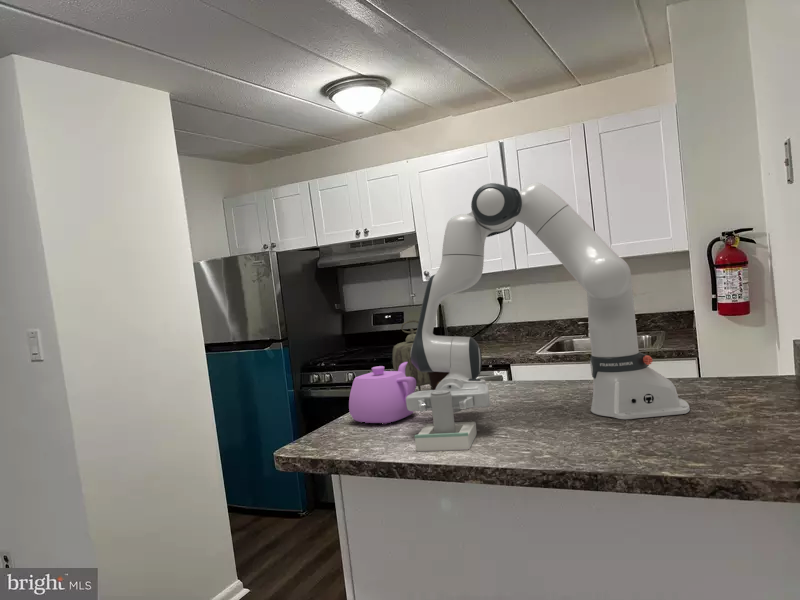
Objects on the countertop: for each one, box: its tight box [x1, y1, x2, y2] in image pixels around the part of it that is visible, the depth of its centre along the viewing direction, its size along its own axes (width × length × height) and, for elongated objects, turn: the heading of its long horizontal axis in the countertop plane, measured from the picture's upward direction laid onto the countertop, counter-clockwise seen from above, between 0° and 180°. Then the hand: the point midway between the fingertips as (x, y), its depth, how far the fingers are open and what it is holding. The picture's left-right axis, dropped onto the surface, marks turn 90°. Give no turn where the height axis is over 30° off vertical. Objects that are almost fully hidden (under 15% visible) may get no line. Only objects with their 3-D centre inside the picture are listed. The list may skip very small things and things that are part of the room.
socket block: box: [414, 421, 478, 452], centre depth 134 cm, size 12×12×4 cm
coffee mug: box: [428, 372, 449, 390], centre depth 181 cm, size 12×9×10 cm
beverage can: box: [430, 389, 456, 434], centre depth 134 cm, size 5×5×12 cm
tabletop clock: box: [391, 319, 432, 391], centre depth 193 cm, size 14×9×25 cm, turn 98°
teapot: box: [348, 362, 417, 425], centre depth 166 cm, size 23×21×15 cm
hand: (442, 406), depth 133 cm, fingers open, 8 cm apart
